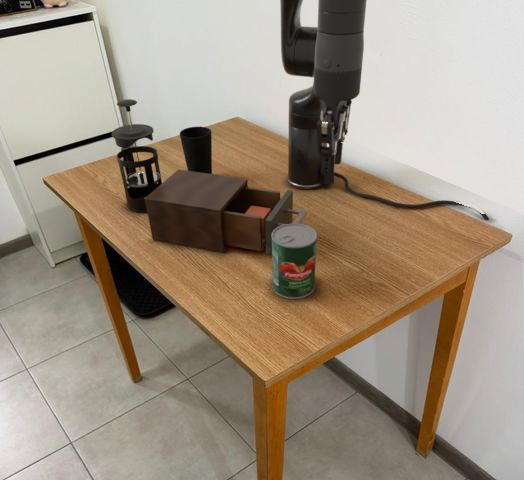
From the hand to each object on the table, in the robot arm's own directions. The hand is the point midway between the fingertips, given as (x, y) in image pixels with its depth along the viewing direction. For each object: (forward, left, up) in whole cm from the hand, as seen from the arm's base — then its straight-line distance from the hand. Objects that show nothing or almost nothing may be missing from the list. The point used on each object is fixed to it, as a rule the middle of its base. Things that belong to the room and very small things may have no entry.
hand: (331, 168), depth 91 cm
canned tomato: (+6, +13, -18) cm, 22 cm away
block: (+14, -4, -15) cm, 21 cm away
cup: (+32, -32, -18) cm, 49 cm away
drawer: (+15, -4, -16) cm, 22 cm away
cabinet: (+27, -7, -17) cm, 33 cm away
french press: (+43, -19, -18) cm, 50 cm away
